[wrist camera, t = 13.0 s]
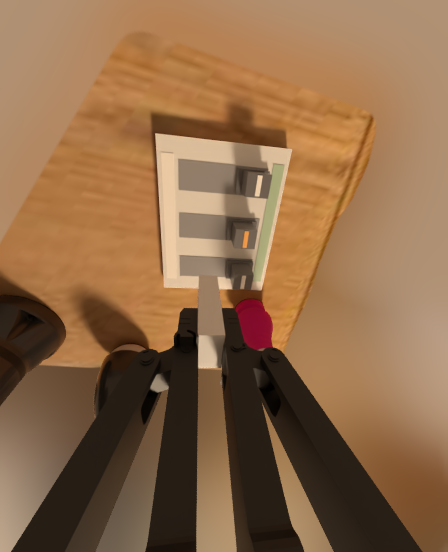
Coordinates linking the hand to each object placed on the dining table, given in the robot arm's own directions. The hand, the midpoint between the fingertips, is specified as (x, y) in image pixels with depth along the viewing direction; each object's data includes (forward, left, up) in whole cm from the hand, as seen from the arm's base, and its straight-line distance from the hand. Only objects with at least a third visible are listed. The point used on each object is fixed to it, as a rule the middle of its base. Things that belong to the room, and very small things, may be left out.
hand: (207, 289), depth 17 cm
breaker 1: (+6, +7, -17) cm, 20 cm away
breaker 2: (+6, -7, -17) cm, 20 cm away
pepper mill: (+10, -18, -20) cm, 29 cm away
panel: (+2, 0, -20) cm, 20 cm away
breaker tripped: (+6, 0, -17) cm, 18 cm away
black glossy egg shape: (-15, -31, -20) cm, 40 cm away
